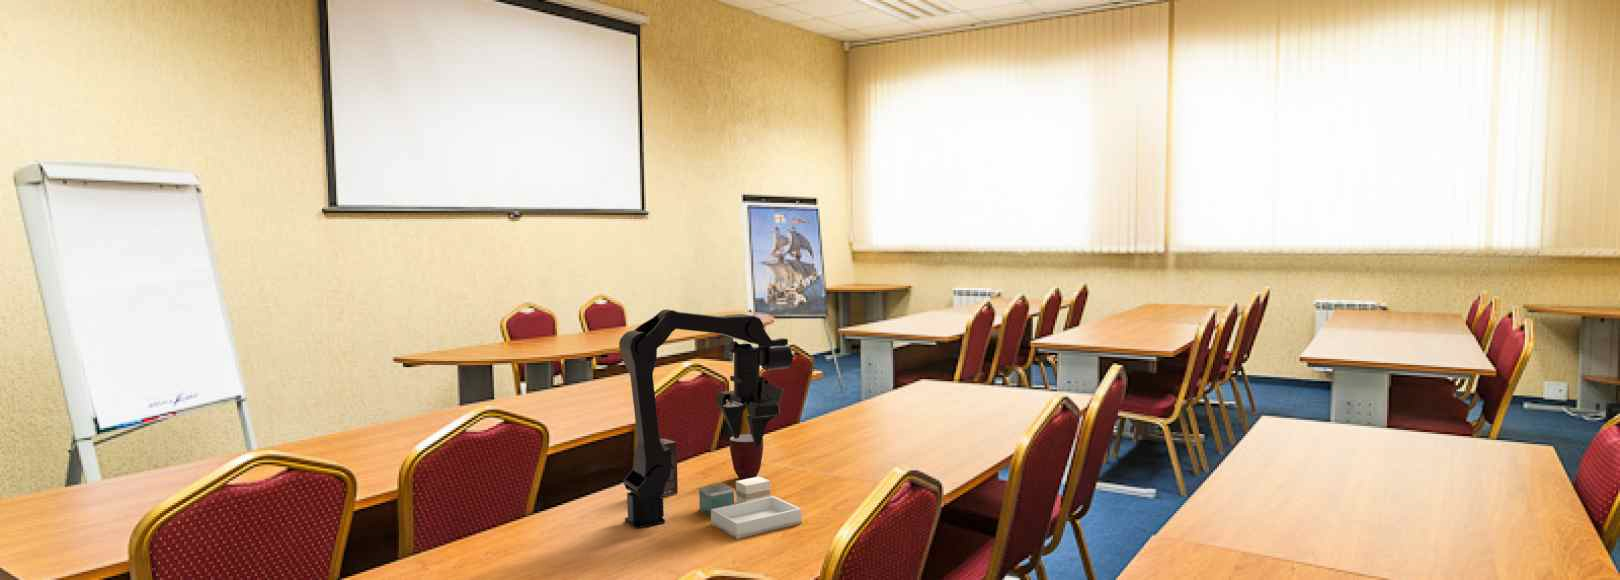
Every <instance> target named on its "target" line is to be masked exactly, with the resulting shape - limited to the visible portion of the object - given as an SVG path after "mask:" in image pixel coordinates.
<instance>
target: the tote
mask: <svg viewBox="0 0 1620 580" xmlns="http://www.w3.org/2000/svg"><path fill="white" fill-rule="evenodd" d="M802 511H803V510H802V508H800V507H798V506H796V505H794V504H792V503H789V502H788V501H785V500H784V499H781V498H778V497H776V496H774V495H770V497H767V498H762V499H757V500H753V501H748V502H743V503H739V504H738V503H734V505H729V506H725V507H720V508H715V509H711V516H710V520H711V521H710V523H711V524H710V525H712V526H714V527H716V528H718V529H720V530H722V531H723V532H725V533H727V534H728V535H730V536H732V537H734V538H735V539H737V540H738V539H742V538H746V537H750V536H754V535H758V534H763V533H768V532H771V531H776V530H779V529H783V528H784V529H785V528H788V527H791V526H797V525H800V524H803V523H802V522H803V520H802V519H803V517H802V515H803V513H802Z"/></svg>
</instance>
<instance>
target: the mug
mask: <svg viewBox="0 0 1620 580" xmlns="http://www.w3.org/2000/svg"><path fill="white" fill-rule="evenodd" d="M729 452H730V457H731V462H732V468H733V470H734V472H735V474H736V476H737V478H738V479H739V480H744V479H749V478H754V477H758V475H759V472H760V469H761V466H762V460H763V452H764V437H763V438H762V441H761V444H760V446H755V444H754V441H753V438H752V434H751V433H750V434H749V433H747V434H746V433H744V434H740V436H739V438H734V436H733V435H732V436H730V437H729Z"/></svg>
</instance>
